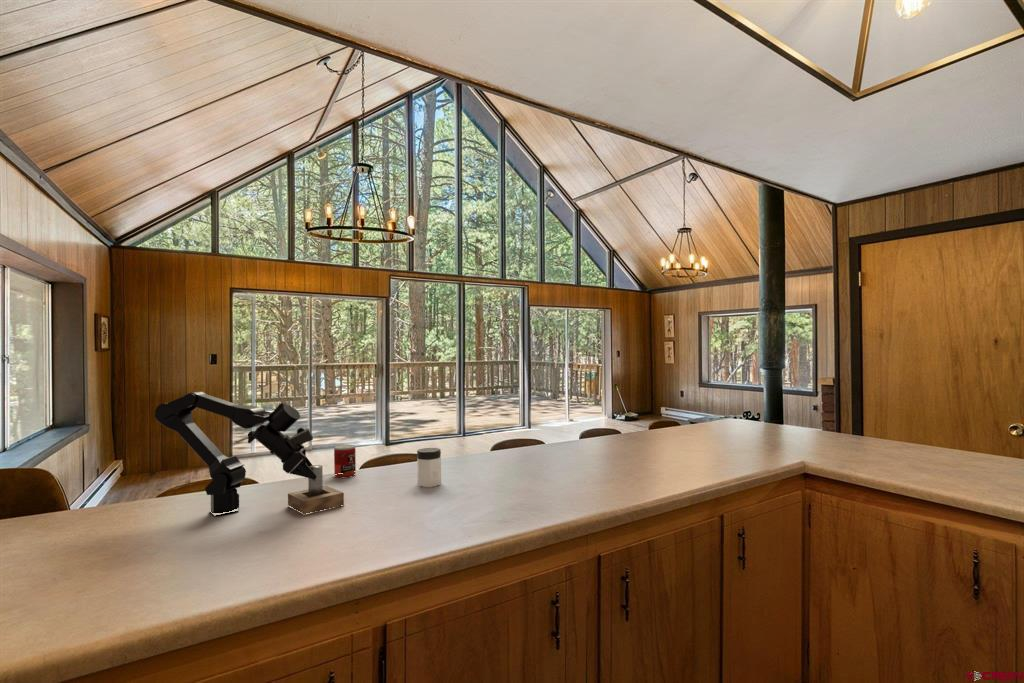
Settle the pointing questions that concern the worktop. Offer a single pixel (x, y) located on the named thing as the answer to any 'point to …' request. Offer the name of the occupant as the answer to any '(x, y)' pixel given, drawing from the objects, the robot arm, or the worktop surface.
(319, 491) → the grey upright bar
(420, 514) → the worktop surface
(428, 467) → the jar
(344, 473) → the canned food
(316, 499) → the wooden socket block
